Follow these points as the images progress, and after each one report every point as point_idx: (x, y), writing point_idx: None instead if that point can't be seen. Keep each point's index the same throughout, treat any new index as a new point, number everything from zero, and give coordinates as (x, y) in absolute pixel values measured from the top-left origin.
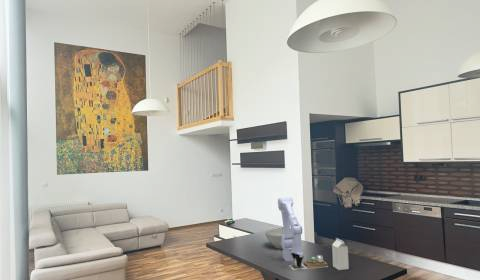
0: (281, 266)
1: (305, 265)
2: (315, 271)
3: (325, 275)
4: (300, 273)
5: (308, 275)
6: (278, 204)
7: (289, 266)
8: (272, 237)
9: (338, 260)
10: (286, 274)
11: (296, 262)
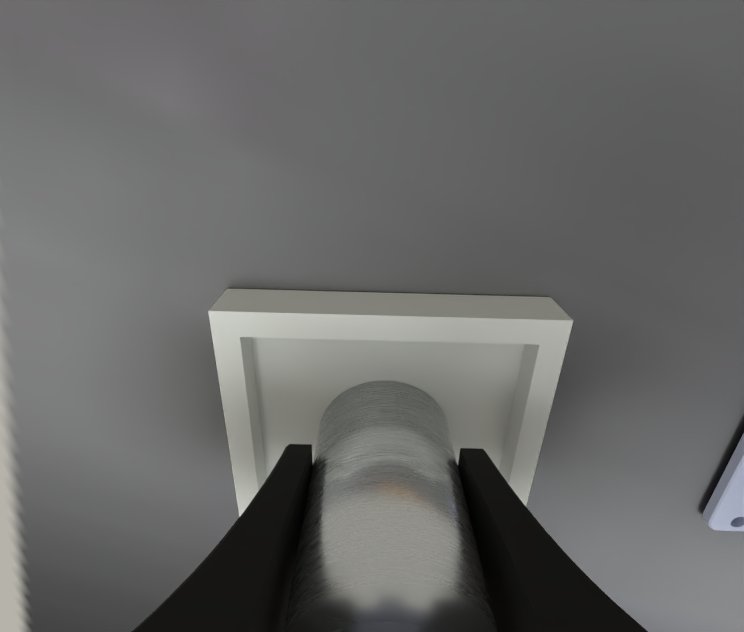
0: (699, 134)
1: None
2: None
3: (25, 626)
4: (119, 375)
5: (11, 456)
6: None
7: (514, 307)
8: None
9: None
10: (56, 26)
11: (321, 512)
